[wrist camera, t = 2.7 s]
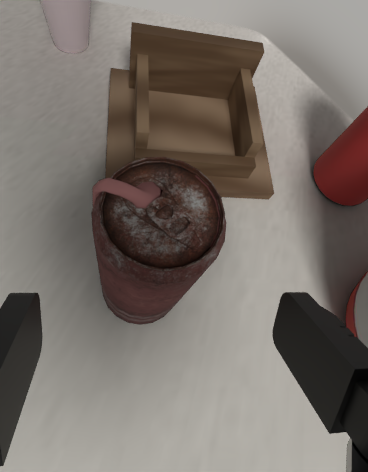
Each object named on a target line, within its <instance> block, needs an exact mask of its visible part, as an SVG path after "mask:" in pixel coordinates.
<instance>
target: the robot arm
mask: <svg viewBox="0 0 368 472" xmlns="http://www.w3.org/2000/svg"><path fill="white" fill-rule="evenodd" d="M273 340H274V344H275V346H276V348H277V350H278V351H279V353H280V355H281V356H282V358H283V359H284V361H285V363H286V364H287V366H288V368H289V369H290V371H291V372H292V374H293V376H294V377H295V379H296V380H297V382H298V384H299V385H300V387H301V388H302V390H303V392H304V393H305V395H306V397H307V398H308V400H309V401H310V403H311V405H312V406H313V408H314V409H315V411H316V413H317V414H318V416H319V417H320V419H321V421H322V422H323V424H324V425H325V427H326V429H327V430H328V432H329V434H331V433H340V432H347V433H348V435H349V436H350V439H349V441H348V444H347V455H346V472H368V348H367V347H366V346H365V345H364V344H363V343H362V342H361V341H360V340H359V339H358V338H357V337H355V336H354V334H353V333H352V332H351V331H350V330H349V329H348V328H346V326H345V325H344V324H343V322H342V321H341V320H340V319H339V318H338V317H337V316H336V315H334V314H332V313H331V312H329V311H328V310H326V309H324V308H323V307H321V306H320V305H319V304H318V303H317V302H316V301H315V300H314V299H313V298H312V297H311V296H310V295H309V294H308V293H305V292H286V293H284V294H283V295H282V296H281V299H280V303H279V307H278V311H277V315H276V319H275V323H274V327H273ZM41 347H42V325H41V311H40V299H39V295H38V293H10V294H9V295H8V297H7V298H6V300H5V302H4V303H3V305H2V307H1V308H0V466H3V465H4V462H5V459H6V456H7V453H8V450H9V447H10V444H11V441H12V438H13V435H14V432H15V429H16V426H17V423H18V420H19V417H20V414H21V411H22V408H23V405H24V402H25V399H26V396H27V393H28V390H29V387H30V384H31V381H32V378H33V375H34V372H35V369H36V366H37V363H38V360H39V357H40V353H41Z"/></svg>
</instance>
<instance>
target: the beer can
mask: <svg viewBox="0 0 368 472" xmlns="http://www.w3.org/2000/svg"><path fill="white" fill-rule="evenodd" d="M313 174H314V178H315V182H316V184H317V186H318V188H319V190H320V191H321V192H322V193H323V194H324V195H325V196H326V197H327V198H329V199H330V200H332V201H333V202H336V203H339V204H341V205H349V206H353V205H357V204H360V203H362V202H364V201H365V200H366V199H368V107H367V108H366V109H365V110H364V111H363V112H362V113H361V114H360V115H359V116H358V117H357V118H356V119H355V120H354V121H353V123H352V124H351V125H350V126H349V127H348V128H347V129H346V130H345V131H344V132H343V133H342V134H341V135H340V136H339V137H338V138H337V139H336V140H335V141H334V142H333V144H332V145H331V146H330V147H329V148H328V149H327V150H326V151H325V152H324V153H323V154H322V155H321V156H320V157H319V158H318V160H317V161H316V163H315V165H314V172H313Z"/></svg>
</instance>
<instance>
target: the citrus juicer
mask: <svg viewBox="0 0 368 472" xmlns="http://www.w3.org/2000/svg"><path fill="white" fill-rule="evenodd" d="M346 328H348V329H349V330H350V331H351V332H352V333H353V334H354V336H355V337H357V338H358V339H359V340H360V341H361V342H362V343H363V344H364V345H365V346H366V347H367V348H368V271H367V272H366V273H365V274H364V276H363V277H362V278H361V280H360V281H359V283H358V284H357V286H356V287H355V289H354V290H353V292H352V293H351V295H350V298H349V301H348V304H347V310H346Z"/></svg>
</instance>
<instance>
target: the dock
mask: <svg viewBox="0 0 368 472" xmlns="http://www.w3.org/2000/svg"><path fill="white" fill-rule="evenodd" d="M263 54H264V48H263V43H259V42H253V41H247V40H240V39H234V38H228V37H222V36H215V35H209V34H203V33H196V32H190V31H184V30H178V29H171V28H165V27H159V26H152V25H146V24H140V23H134V22H132V28H131V50H130V70H122V69H114V68H111V75H110V95H109V115H108V135H107V155H106V175H105V178H111V176H112V175H113V174H114V172H116V171H117V170H119V169H120V168H122V167H123V166H125V165H126V164H128V163H129V162H132V161H136V160H139V159H142V158H145V157H168V158H172V159H176V160H180V161H183V162H185V163H187V164H189V165H191V166H193V167H195V168H197V169H198V170H200V171H201V172H202V173H203V174H204V175H205V176H206V177H207V178H208V179H209V180H210V181H211V182H212V183H213V185H214V186H215V188H216V190H217V191H218V193H219V195H220V196H221V197H235V198H254V199H269V198H270V197H271V196H272V195H273V194H274V190H273V185H272V179H271V174H270V169H269V163H268V158H267V152H266V147H265V141H264V136H263V131H262V125H261V120H260V114H259V109H258V103H257V98H256V92H255V87H254V86H253V83H252V77H253V75H254V73H255V71H256V69H257V67H258V64H259V62H260V60H261V58H262V56H263Z"/></svg>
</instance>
